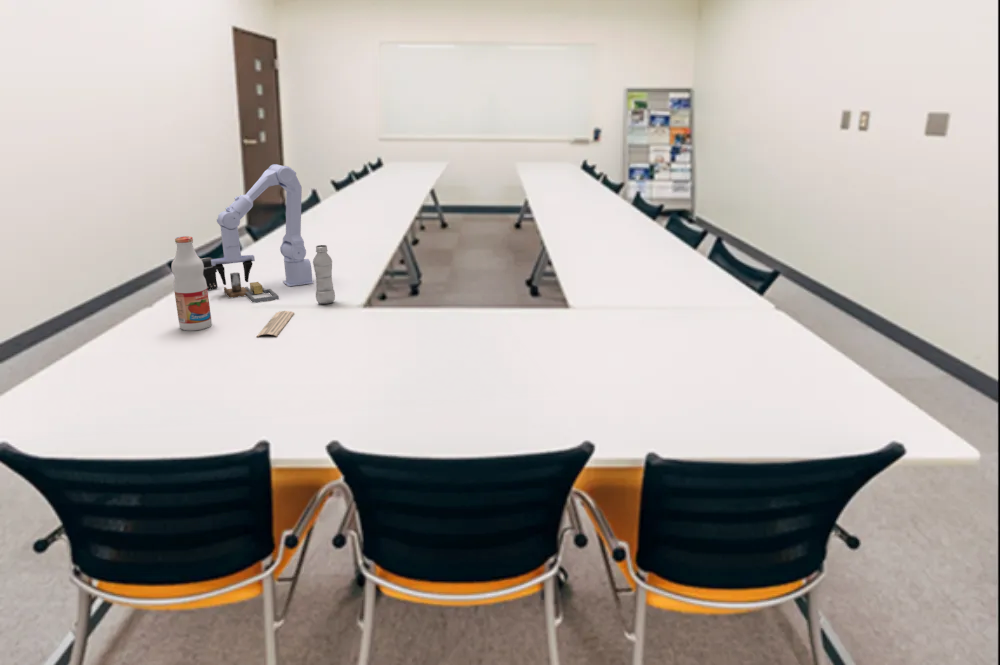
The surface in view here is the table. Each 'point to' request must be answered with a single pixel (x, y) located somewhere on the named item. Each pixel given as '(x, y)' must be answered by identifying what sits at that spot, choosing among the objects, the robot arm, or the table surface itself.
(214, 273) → the battery charger
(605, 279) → the table surface
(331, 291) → the plastic bottle
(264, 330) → the newspaper
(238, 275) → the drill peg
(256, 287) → the block
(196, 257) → the fruit juice
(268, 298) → the socket
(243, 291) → the brown flat slab
